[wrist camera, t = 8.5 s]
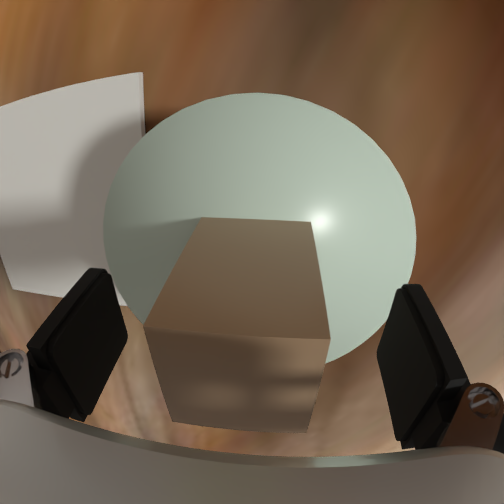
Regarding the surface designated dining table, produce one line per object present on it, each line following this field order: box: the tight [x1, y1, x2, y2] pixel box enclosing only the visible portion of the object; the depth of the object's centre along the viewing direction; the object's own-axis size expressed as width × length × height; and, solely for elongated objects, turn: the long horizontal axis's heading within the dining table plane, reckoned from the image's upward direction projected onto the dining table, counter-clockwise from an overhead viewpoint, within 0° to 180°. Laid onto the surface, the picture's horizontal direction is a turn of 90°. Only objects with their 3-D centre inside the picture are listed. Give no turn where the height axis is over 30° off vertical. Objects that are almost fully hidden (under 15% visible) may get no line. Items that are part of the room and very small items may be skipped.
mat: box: [0, 72, 146, 306], centre depth 20 cm, size 16×16×1 cm
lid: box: [103, 93, 416, 433], centre depth 11 cm, size 13×13×7 cm
